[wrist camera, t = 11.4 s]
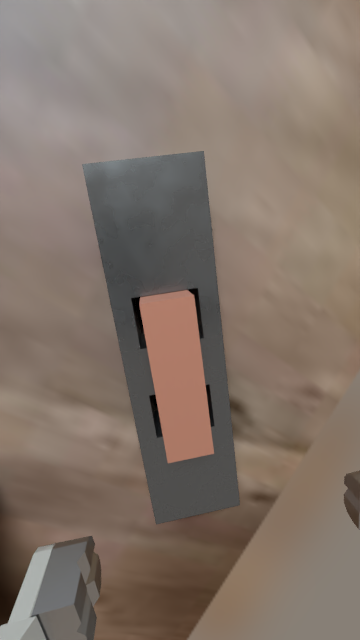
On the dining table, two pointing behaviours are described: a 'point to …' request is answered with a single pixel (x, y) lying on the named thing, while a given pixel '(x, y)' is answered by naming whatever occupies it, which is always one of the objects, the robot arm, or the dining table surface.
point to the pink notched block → (177, 373)
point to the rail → (155, 278)
